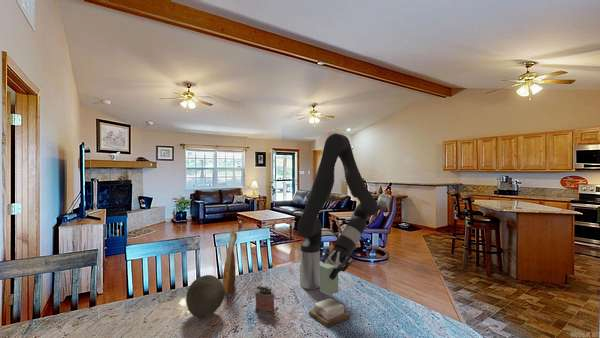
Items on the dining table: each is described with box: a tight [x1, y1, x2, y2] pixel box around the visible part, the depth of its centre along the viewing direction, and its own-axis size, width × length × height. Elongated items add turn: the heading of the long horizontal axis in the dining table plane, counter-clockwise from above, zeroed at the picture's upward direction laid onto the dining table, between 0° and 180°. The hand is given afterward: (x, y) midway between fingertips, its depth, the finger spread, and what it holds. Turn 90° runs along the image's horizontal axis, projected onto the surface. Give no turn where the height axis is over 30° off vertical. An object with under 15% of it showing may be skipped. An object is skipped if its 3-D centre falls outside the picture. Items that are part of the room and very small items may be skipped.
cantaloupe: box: [185, 274, 226, 319], centre depth 111 cm, size 14×14×15 cm
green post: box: [319, 262, 339, 296], centre depth 110 cm, size 5×5×10 cm
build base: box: [308, 297, 350, 328], centre depth 110 cm, size 11×11×4 cm
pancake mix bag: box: [222, 225, 238, 295], centre depth 138 cm, size 7×19×28 cm, turn 12°
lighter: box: [254, 285, 275, 315], centre depth 114 cm, size 8×3×10 cm, turn 71°
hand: (326, 276), depth 109 cm, fingers closed on green post, 5 cm apart
